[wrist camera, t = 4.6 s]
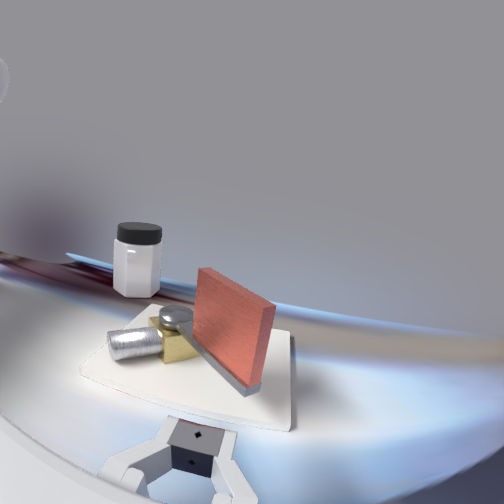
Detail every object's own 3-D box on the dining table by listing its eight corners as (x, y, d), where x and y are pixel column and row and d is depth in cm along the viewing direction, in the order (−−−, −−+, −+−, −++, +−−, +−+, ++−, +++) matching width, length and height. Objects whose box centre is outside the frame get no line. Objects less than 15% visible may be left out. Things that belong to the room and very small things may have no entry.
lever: (153, 316, 32) (157, 249, 30) (183, 312, 34) (189, 248, 33) (231, 402, 20) (247, 311, 18) (270, 388, 23) (289, 302, 21)
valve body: (117, 372, 25) (115, 344, 25) (106, 347, 29) (104, 321, 28) (239, 347, 36) (243, 323, 35) (218, 329, 39) (221, 307, 39)
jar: (167, 294, 51) (173, 229, 49) (131, 302, 45) (134, 231, 42) (141, 279, 56) (144, 221, 54) (107, 285, 49) (109, 222, 47)
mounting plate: (80, 374, 24) (79, 367, 24) (151, 309, 44) (151, 303, 44) (288, 431, 23) (290, 425, 23) (288, 337, 42) (289, 331, 42)
